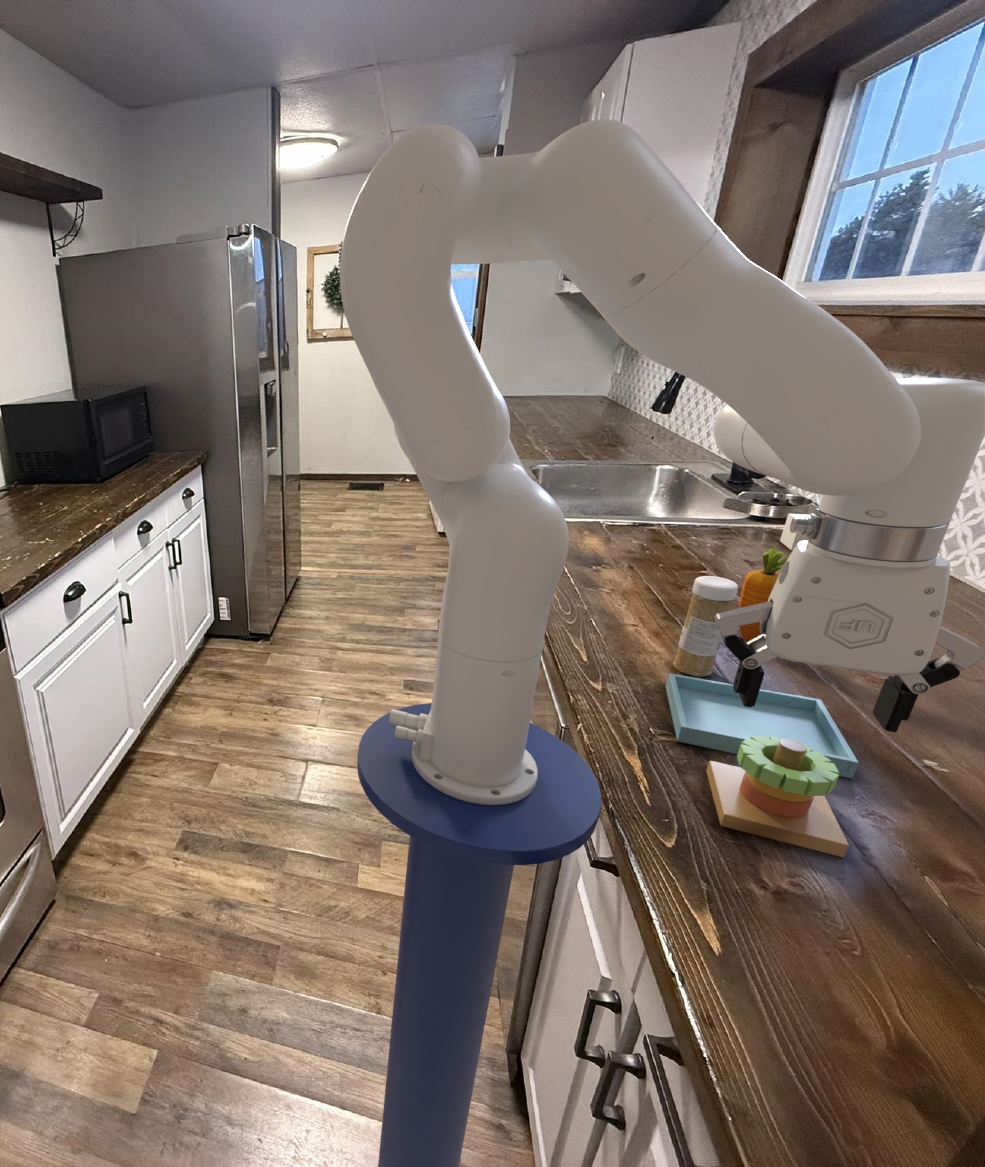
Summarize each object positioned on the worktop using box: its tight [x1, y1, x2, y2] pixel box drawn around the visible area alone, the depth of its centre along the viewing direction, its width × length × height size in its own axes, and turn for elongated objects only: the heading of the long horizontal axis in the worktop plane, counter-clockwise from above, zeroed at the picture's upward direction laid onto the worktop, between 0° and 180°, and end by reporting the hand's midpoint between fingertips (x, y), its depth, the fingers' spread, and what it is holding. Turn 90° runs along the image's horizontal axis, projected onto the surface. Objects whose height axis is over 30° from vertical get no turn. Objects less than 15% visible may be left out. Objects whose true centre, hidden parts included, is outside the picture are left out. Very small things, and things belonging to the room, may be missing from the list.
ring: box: [736, 736, 840, 796], centre depth 60 cm, size 7×7×2 cm
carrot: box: [738, 547, 789, 643], centre depth 90 cm, size 5×5×15 cm
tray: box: [665, 673, 860, 779], centre depth 74 cm, size 15×13×2 cm
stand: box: [705, 739, 850, 858], centre depth 61 cm, size 9×9×8 cm
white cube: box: [779, 513, 811, 551], centre depth 127 cm, size 6×6×6 cm
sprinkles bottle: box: [672, 575, 739, 678], centre depth 85 cm, size 5×5×14 cm
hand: (811, 711), depth 58 cm, fingers open, 9 cm apart
